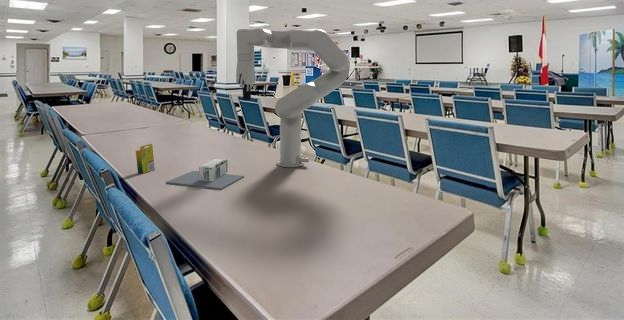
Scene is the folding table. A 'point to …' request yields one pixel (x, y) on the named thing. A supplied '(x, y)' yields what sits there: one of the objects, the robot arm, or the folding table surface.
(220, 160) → the syrup box
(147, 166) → the crayon box
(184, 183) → the mat
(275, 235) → the folding table surface
